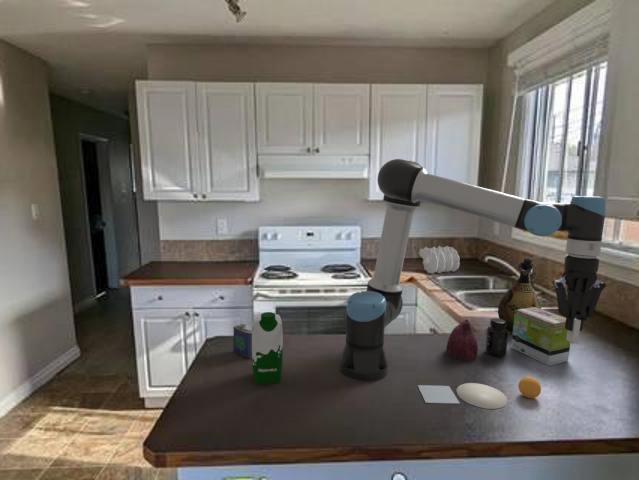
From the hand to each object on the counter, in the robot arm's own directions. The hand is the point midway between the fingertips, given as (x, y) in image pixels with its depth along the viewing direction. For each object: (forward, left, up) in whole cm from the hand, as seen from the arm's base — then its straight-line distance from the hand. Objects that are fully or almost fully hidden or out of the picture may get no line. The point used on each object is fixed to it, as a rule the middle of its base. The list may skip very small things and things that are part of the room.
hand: (572, 341), depth 106 cm
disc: (-23, 0, -16) cm, 28 cm away
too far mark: (-35, 0, -16) cm, 39 cm away
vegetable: (-19, +27, -17) cm, 37 cm away
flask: (-93, +22, -17) cm, 97 cm away
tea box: (+8, +28, -17) cm, 34 cm away
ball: (-10, 0, -14) cm, 17 cm away
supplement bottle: (-7, +28, -17) cm, 33 cm away
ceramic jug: (+12, +51, -17) cm, 55 cm away
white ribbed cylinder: (+11, +156, -17) cm, 157 cm away
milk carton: (-83, +7, -16) cm, 85 cm away
